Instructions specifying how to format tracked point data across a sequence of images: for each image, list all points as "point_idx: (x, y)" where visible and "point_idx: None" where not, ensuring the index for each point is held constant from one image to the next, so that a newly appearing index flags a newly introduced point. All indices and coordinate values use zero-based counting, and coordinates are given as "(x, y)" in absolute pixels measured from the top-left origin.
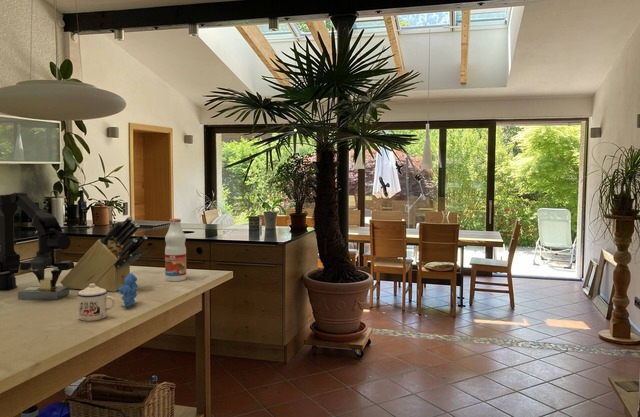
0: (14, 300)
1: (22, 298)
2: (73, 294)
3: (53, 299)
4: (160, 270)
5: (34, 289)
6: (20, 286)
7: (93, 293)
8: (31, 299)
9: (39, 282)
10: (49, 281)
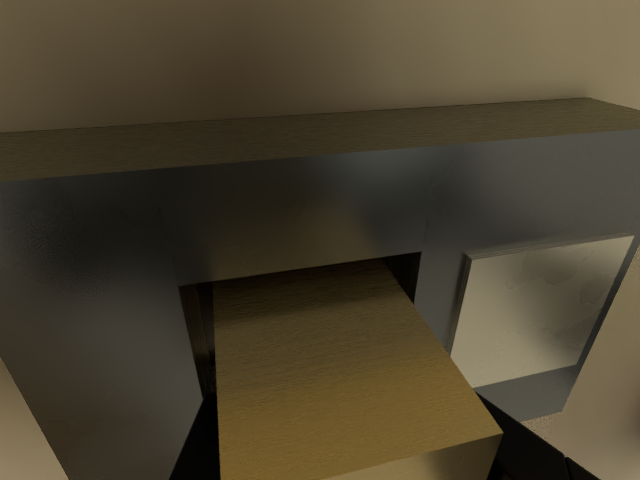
0: (625, 49)
1: (551, 103)
2: (21, 414)
3: (74, 131)
4: None
5: (491, 275)
6: (623, 453)
7: None
8: (429, 107)
9: (490, 404)
10: (247, 460)
